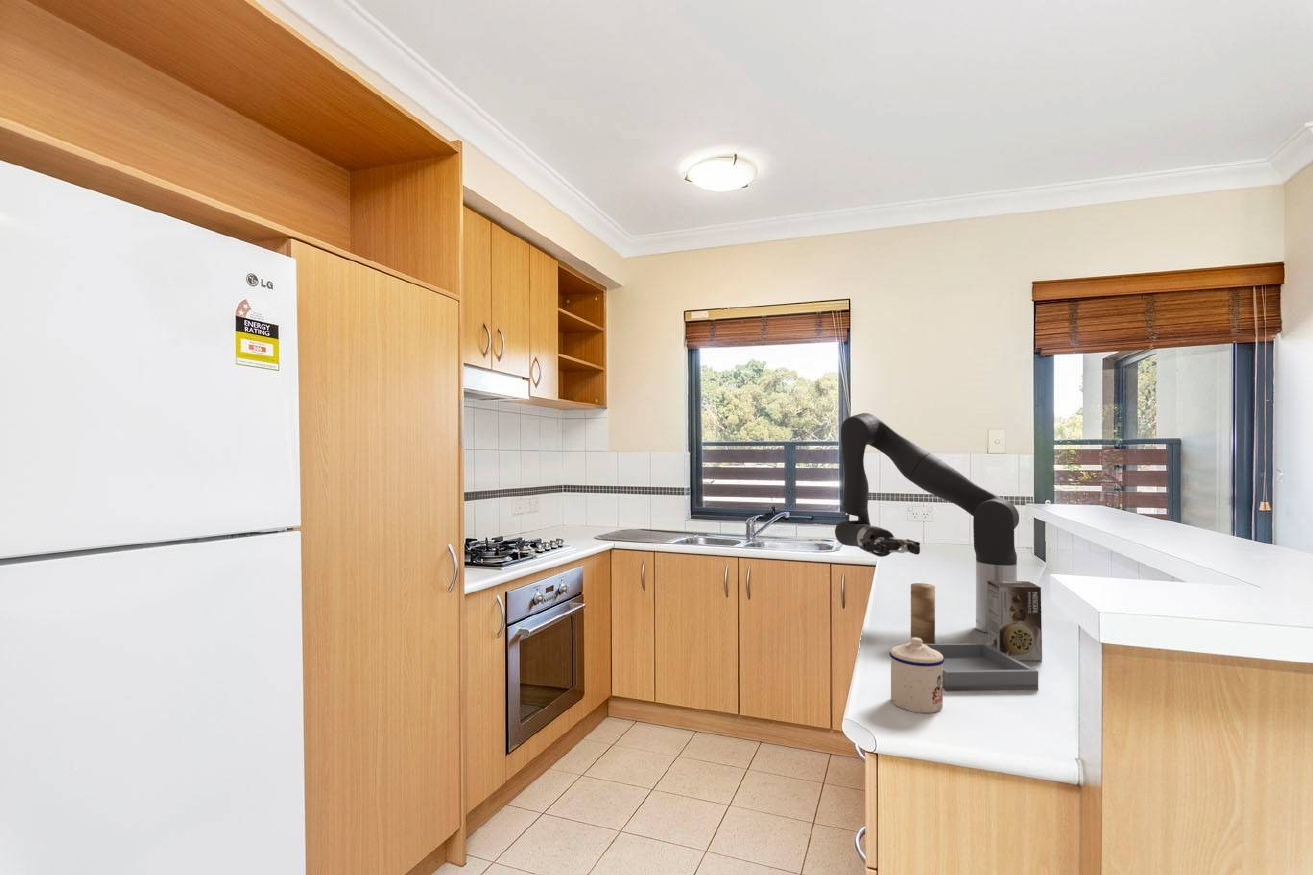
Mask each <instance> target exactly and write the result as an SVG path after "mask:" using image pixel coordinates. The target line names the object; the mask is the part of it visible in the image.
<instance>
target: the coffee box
mask: <svg viewBox="0 0 1313 875" xmlns="http://www.w3.org/2000/svg"><path fill="white" fill-rule="evenodd" d="M1042 617H1043V616H1042V587H1041V586H1039V585H1037V584H1035V583H1033V582H1030V581H1025V580H1024V581H1022V580H1019V581H1018V580H1017V581H988V633H987V637H988V640H987V645H989V646H991V647H993V648H995V649H997V650H999V651H1001V652H1002V653H1004V654H1006V655H1008V656H1010V657H1012V658H1014V659H1016V660H1018V661H1038V662H1039V661H1041V662H1042V661H1043V635H1042V634H1043V632H1042V623H1043V622H1042Z"/></svg>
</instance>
